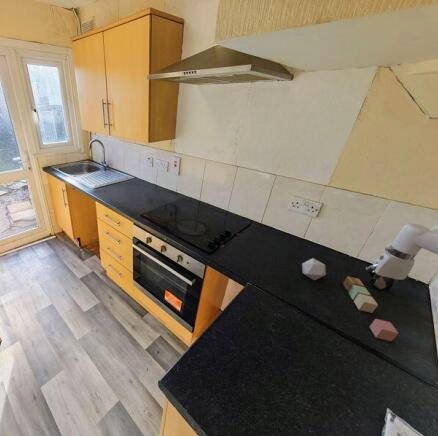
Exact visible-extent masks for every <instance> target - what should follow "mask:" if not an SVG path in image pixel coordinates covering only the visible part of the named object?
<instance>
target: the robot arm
mask: <svg viewBox="0 0 438 436" xmlns="http://www.w3.org/2000/svg"><path fill="white" fill-rule="evenodd" d="M421 249H424V250H426V251H428V252H431V253H433V254H435V255H438V224H437V225H435V226H433V227H431V228H428V227H426V226H424V225H421V224H416V223H406V224H405V225H404V226H403V227H402V228H401V229H400V230H399V233H398V234H397V235H396V237H395V239H393V242H392V243H391V244H390V245H389V247H385V248H384V250H385V251H384V252H382V253H381V254H380V255H379V256H378V257H377V258H376V259H375V261H374V262H373V263H372V265H369V266H366V267H365V270H366V272H368V274H369V277H368V278H367V280H366V283H367V284H368V285H369V286H370V287H374V286H373V285H374V283H375V282H376V281H377V279H378V278H380V277H381V276H383V278H384V277H385V278H387V279H385V280H384V282H385V285H386V287H385V289H386V290H387V291H390V289H391V288H392V287H393V286H394V285H395V284H398V283H399V282H402V281H405V280H409V279H410V277H409V274H410V273H411V271H412V269H413V267H414V265H415V261H416V260H415V257H416V256H417V255H418V253H419V252H420V251H421Z"/></svg>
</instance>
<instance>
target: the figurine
mask: <svg viewBox="0 0 438 436" xmlns="http://www.w3.org/2000/svg"><path fill="white" fill-rule="evenodd" d="M376 280H377V281H376V282H375V283H374V285H373V286H372V287H375V288H377V290H384V288H385V287H386V285H385V280H384V276H379V278H376ZM385 289H386V288H385Z"/></svg>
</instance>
